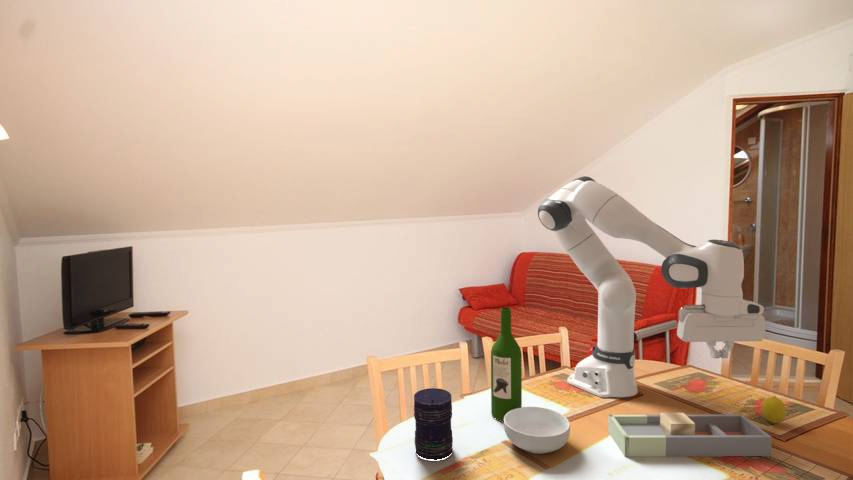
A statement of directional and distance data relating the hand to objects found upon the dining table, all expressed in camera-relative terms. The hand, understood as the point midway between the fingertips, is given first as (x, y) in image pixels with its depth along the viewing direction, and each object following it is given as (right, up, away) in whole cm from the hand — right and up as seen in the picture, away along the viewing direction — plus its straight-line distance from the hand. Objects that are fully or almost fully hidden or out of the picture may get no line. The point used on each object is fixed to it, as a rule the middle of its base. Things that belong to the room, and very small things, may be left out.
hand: (719, 357), depth 121 cm
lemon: (+22, -22, +12) cm, 33 cm away
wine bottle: (-51, -23, +21) cm, 59 cm away
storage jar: (-73, -25, +2) cm, 77 cm away
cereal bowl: (-46, -24, +4) cm, 52 cm away
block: (-10, -20, +2) cm, 22 cm away
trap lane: (-7, -23, +3) cm, 24 cm away
